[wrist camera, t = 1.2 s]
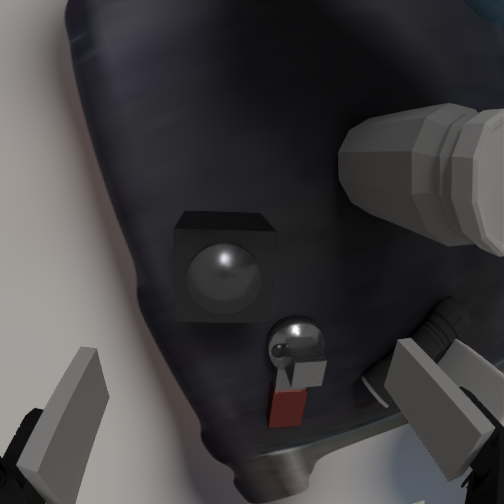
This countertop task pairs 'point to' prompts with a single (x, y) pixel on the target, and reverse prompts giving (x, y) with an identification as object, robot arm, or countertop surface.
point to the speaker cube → (223, 267)
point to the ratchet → (293, 368)
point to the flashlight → (423, 343)
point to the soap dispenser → (475, 376)
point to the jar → (431, 173)
